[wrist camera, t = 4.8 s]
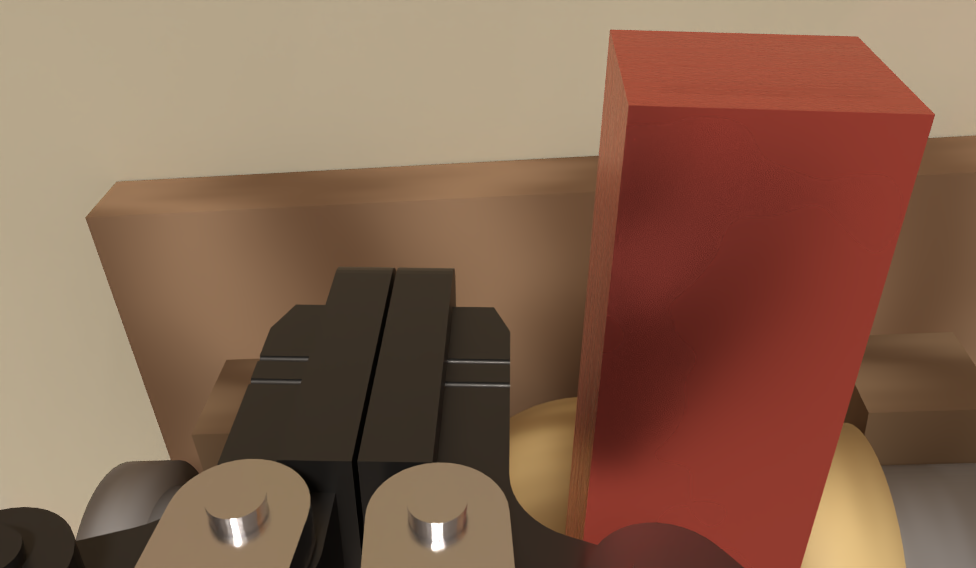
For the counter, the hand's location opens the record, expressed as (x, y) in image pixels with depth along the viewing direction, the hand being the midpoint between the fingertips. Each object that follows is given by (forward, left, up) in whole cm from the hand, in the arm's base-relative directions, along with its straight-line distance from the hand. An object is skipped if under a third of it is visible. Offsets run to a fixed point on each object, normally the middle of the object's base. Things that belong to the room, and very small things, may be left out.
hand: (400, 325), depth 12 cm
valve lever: (+3, -4, +1) cm, 5 cm away
